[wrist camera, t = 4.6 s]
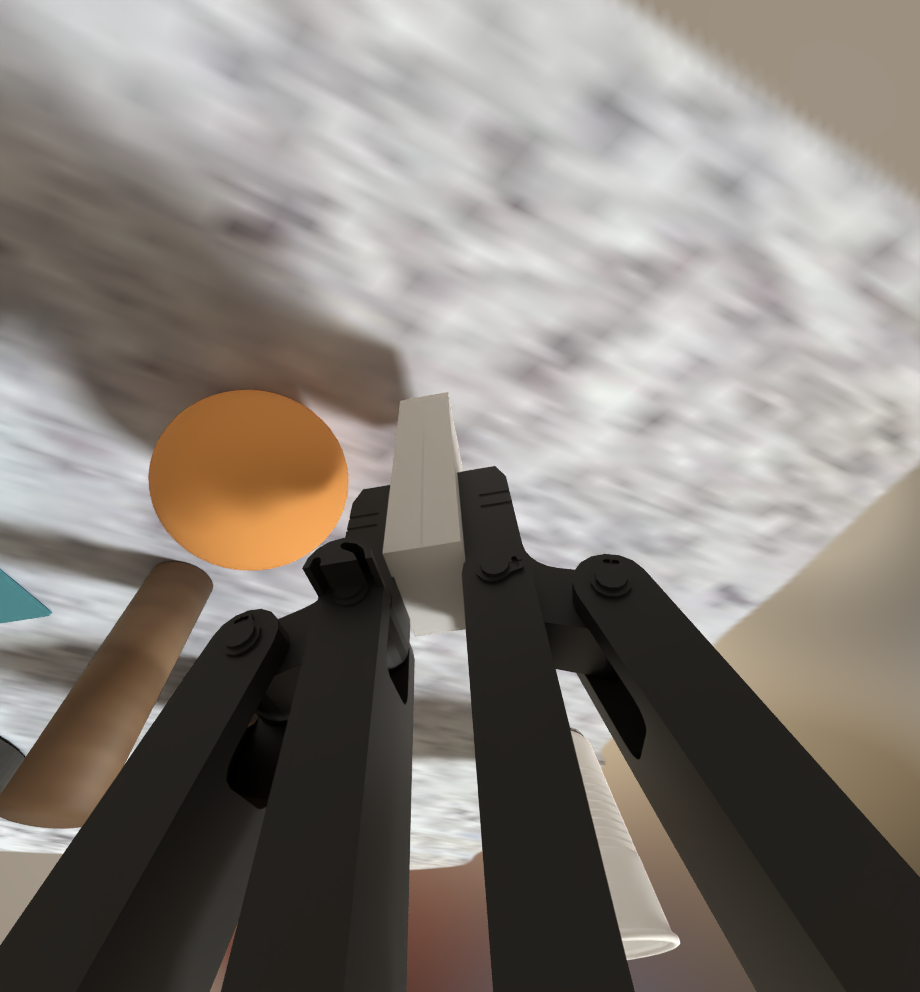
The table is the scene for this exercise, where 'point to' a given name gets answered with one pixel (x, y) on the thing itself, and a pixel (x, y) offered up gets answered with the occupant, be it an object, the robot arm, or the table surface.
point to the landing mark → (18, 602)
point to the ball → (248, 480)
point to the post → (107, 704)
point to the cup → (623, 866)
